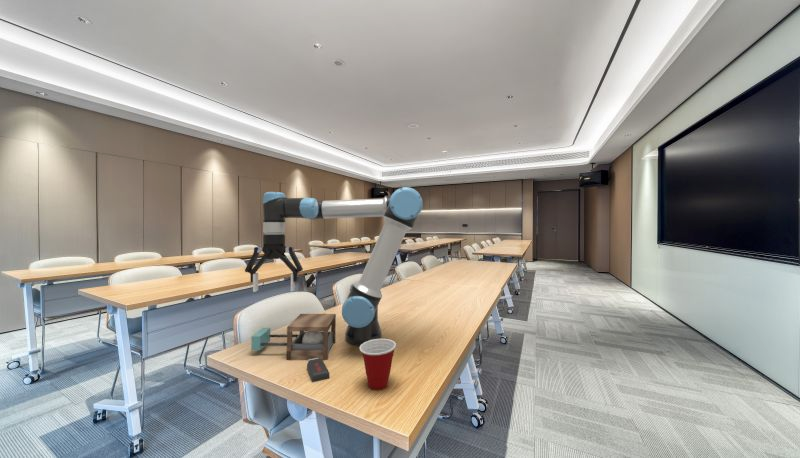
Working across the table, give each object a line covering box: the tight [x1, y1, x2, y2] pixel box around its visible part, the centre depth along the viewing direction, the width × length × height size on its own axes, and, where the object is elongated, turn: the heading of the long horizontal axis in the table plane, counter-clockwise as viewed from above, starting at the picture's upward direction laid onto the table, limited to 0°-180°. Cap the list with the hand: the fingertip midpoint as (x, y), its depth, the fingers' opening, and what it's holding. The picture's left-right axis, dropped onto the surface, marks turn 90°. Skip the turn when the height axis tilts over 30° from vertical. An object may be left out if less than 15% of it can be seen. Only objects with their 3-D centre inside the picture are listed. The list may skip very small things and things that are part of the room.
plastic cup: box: [359, 338, 397, 391], centre depth 85 cm, size 11×11×12 cm
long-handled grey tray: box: [250, 327, 334, 353], centre depth 107 cm, size 27×13×7 cm, turn 93°
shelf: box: [286, 313, 337, 361], centre depth 107 cm, size 14×15×12 cm
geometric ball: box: [302, 331, 323, 344], centre depth 107 cm, size 8×8×8 cm
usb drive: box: [306, 358, 330, 383], centre depth 92 cm, size 5×12×3 cm, turn 27°
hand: (274, 290), depth 107 cm, fingers open, 13 cm apart
